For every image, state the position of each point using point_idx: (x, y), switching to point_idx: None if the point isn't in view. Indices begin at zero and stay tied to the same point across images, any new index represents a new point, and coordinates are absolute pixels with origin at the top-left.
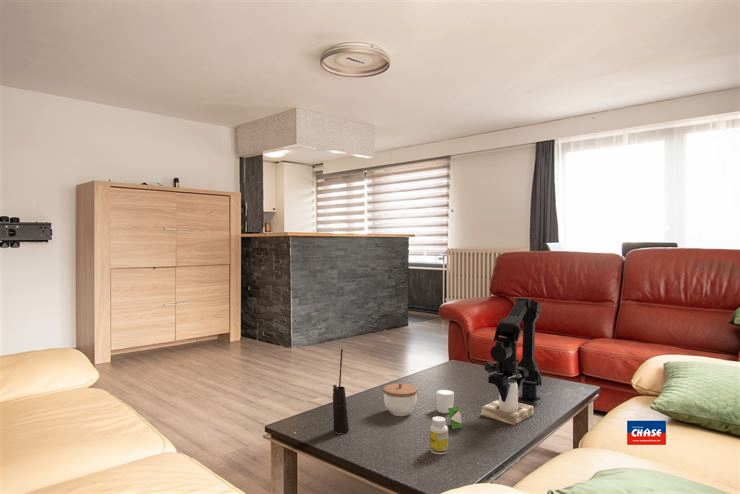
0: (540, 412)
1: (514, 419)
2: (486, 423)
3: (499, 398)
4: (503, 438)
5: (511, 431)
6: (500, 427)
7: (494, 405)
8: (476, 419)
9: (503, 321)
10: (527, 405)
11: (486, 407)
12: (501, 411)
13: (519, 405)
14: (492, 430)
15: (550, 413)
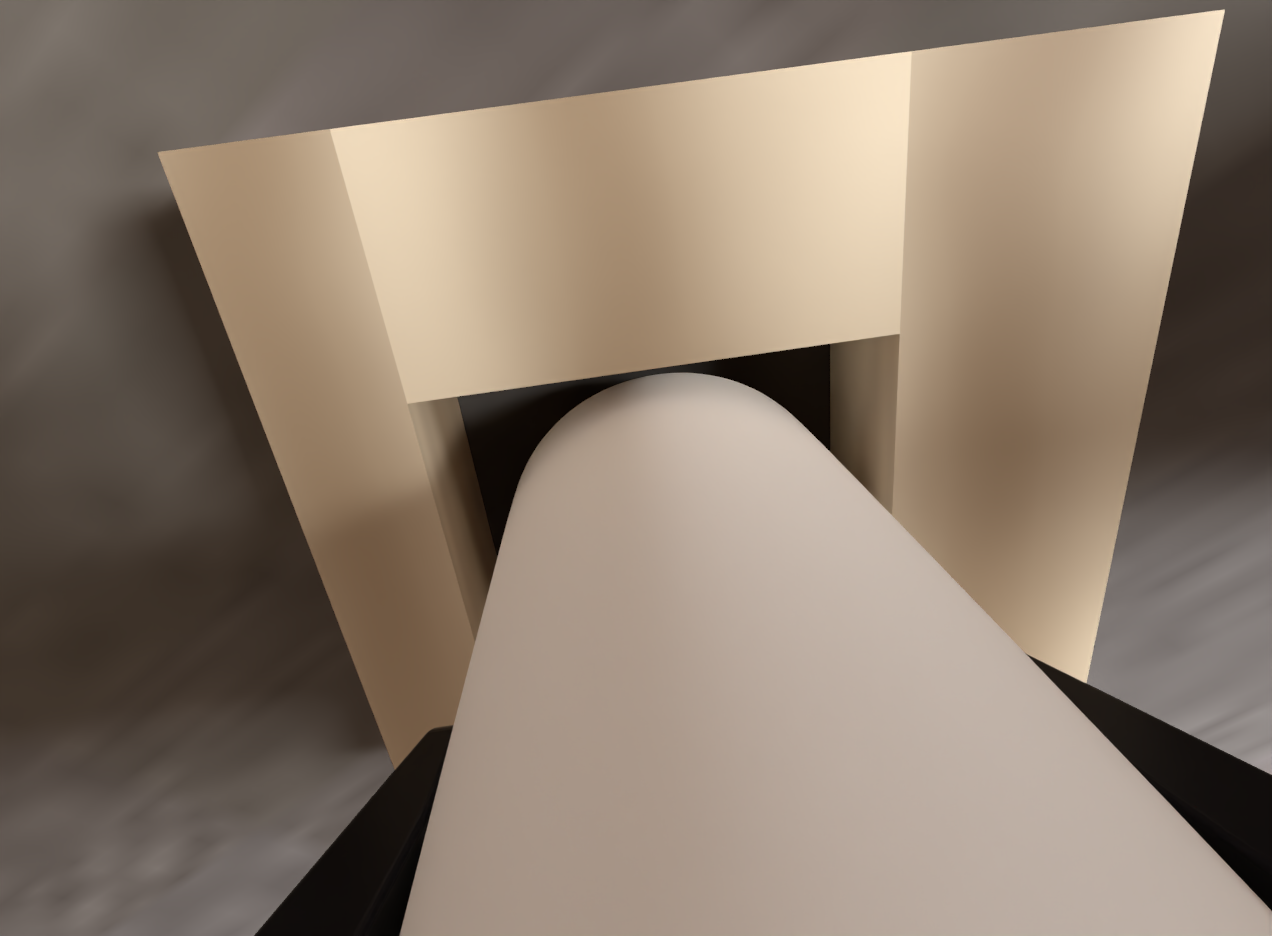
0: (1144, 639)
1: None
2: (92, 506)
3: (522, 575)
4: (20, 892)
5: (261, 824)
6: (210, 698)
7: (552, 302)
8: (10, 276)
9: None
10: (1066, 663)
11: (256, 279)
12: (397, 624)
13: (970, 595)
14: (23, 709)
15: (1181, 716)
